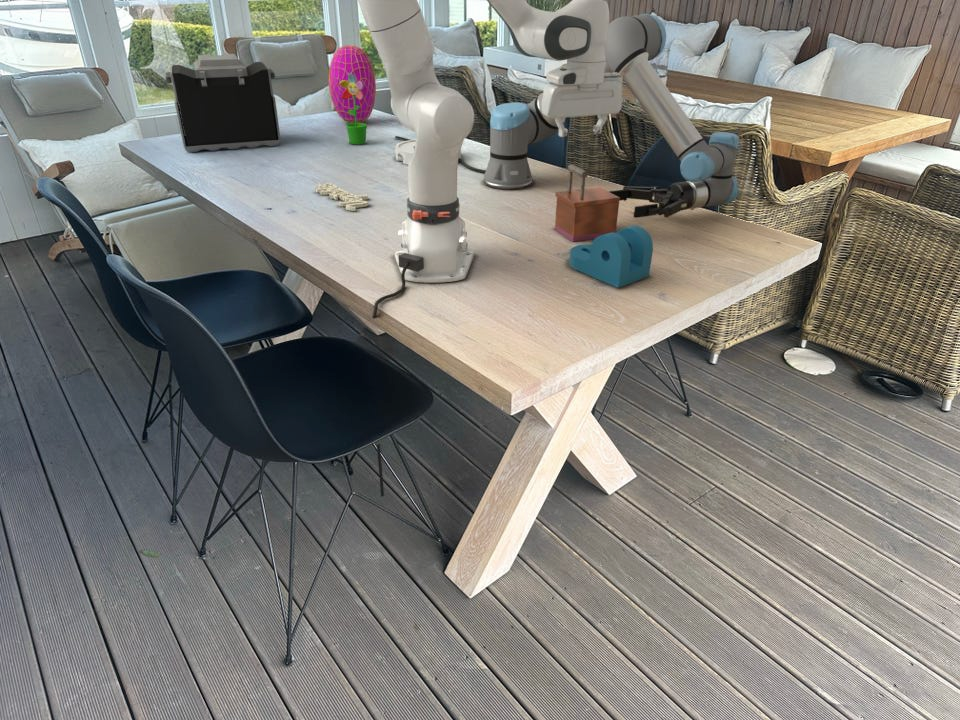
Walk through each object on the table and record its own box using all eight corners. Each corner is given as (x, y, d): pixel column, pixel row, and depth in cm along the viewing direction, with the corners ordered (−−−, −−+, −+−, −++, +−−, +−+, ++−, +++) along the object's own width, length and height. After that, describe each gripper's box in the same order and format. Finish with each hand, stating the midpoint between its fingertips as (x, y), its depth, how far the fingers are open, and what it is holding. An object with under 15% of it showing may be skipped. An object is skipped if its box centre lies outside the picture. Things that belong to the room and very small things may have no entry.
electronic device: (278, 133, 274) (267, 51, 259) (285, 146, 256) (274, 59, 241) (180, 140, 262) (162, 54, 247) (180, 153, 244) (161, 62, 229)
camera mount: (649, 276, 155) (655, 231, 150) (618, 287, 149) (623, 242, 144) (590, 252, 167) (594, 210, 162) (559, 262, 161) (562, 219, 156)
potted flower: (342, 144, 260) (336, 73, 247) (351, 139, 266) (346, 70, 254) (365, 146, 257) (360, 74, 245) (374, 141, 264) (369, 71, 251)
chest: (573, 241, 174) (575, 207, 169) (554, 229, 182) (556, 196, 177) (615, 235, 178) (619, 201, 174) (595, 223, 186) (599, 190, 182)
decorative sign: (381, 201, 196) (350, 208, 191) (381, 205, 197) (350, 211, 192) (338, 180, 214) (308, 186, 209) (338, 183, 215) (308, 189, 209)
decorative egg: (362, 116, 305) (357, 42, 290) (386, 123, 292) (382, 46, 277) (324, 121, 294) (316, 45, 279) (347, 129, 281) (340, 49, 266)
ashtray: (454, 167, 232) (454, 155, 230) (388, 164, 235) (387, 152, 233) (466, 151, 252) (466, 140, 250) (404, 148, 255) (404, 137, 253)
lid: (574, 207, 169) (576, 174, 165) (555, 196, 177) (557, 164, 173) (619, 201, 174) (623, 168, 170) (599, 190, 181) (602, 159, 177)
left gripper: (616, 69, 165) (609, 129, 172) (540, 73, 158) (536, 135, 165) (630, 73, 160) (623, 134, 167) (553, 77, 153) (549, 141, 160)
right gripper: (714, 223, 179) (646, 233, 172) (656, 196, 199) (593, 204, 191) (719, 194, 175) (650, 204, 168) (660, 170, 195) (596, 177, 188)
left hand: (580, 135), depth 166 cm, fingers open, 8 cm apart
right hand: (620, 204), depth 180 cm, fingers open, 13 cm apart
